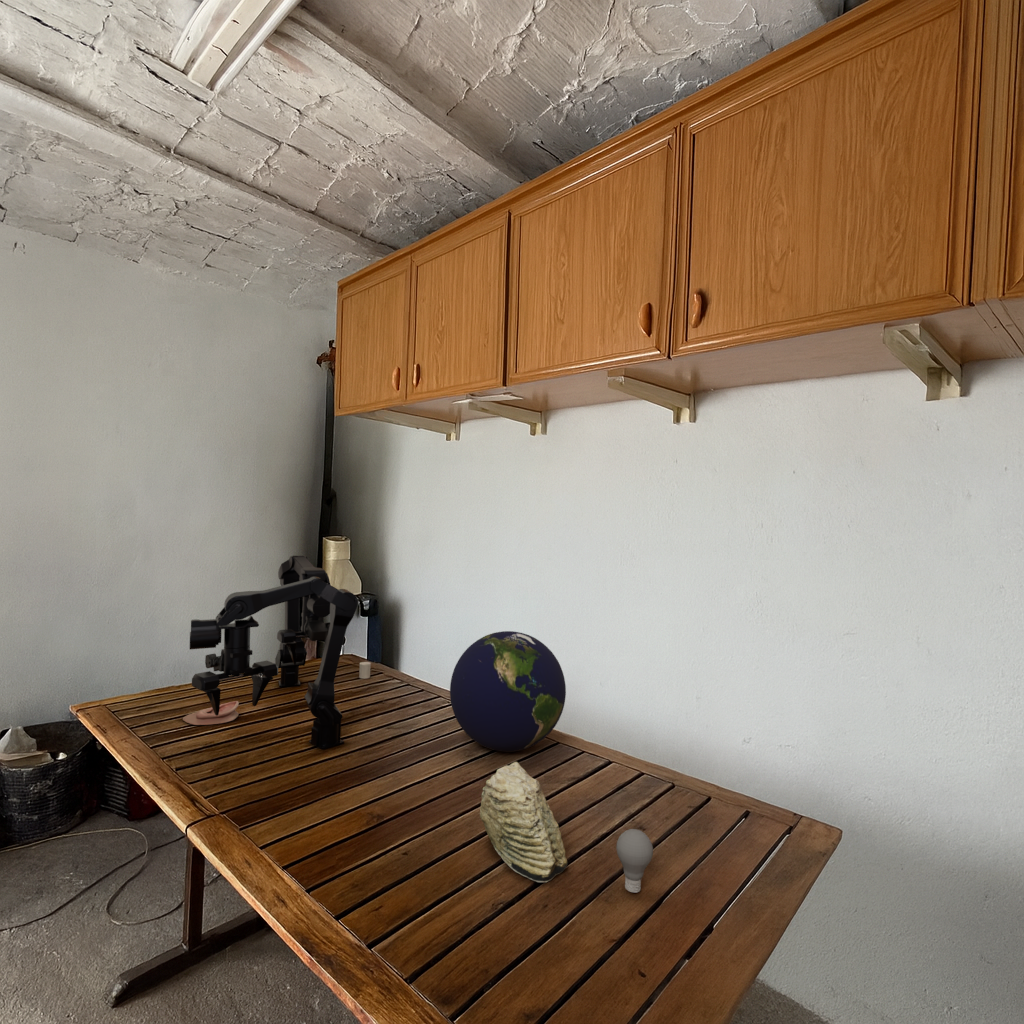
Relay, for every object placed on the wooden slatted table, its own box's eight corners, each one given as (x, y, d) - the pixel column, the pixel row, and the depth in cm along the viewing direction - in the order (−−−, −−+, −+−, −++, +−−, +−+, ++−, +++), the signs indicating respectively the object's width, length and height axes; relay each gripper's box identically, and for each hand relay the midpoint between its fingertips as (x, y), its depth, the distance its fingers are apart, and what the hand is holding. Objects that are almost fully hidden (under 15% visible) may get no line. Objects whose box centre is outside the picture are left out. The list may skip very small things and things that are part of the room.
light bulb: (610, 879, 108) (613, 822, 108) (644, 879, 109) (647, 822, 109) (619, 902, 102) (622, 840, 102) (655, 901, 103) (658, 840, 103)
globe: (494, 719, 185) (499, 617, 185) (584, 745, 168) (589, 633, 167) (423, 749, 161) (428, 631, 160) (519, 784, 143) (525, 652, 143)
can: (359, 678, 220) (359, 664, 220) (359, 675, 224) (359, 661, 224) (370, 678, 221) (370, 664, 221) (369, 675, 225) (370, 661, 225)
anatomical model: (175, 707, 171) (204, 695, 183) (174, 722, 172) (203, 709, 183) (218, 713, 169) (245, 700, 180) (218, 728, 169) (244, 714, 180)
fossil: (501, 827, 124) (504, 751, 124) (575, 868, 111) (578, 784, 111) (467, 843, 118) (470, 763, 118) (541, 889, 105) (545, 799, 105)
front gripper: (257, 634, 164) (256, 694, 165) (182, 646, 150) (181, 711, 150) (279, 642, 157) (278, 704, 157) (202, 654, 143) (201, 723, 143)
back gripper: (287, 618, 178) (285, 673, 179) (351, 614, 189) (349, 665, 190) (277, 611, 188) (275, 663, 188) (339, 607, 198) (337, 656, 199)
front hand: (235, 710), depth 152 cm, fingers open, 9 cm apart
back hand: (310, 662), depth 191 cm, fingers open, 9 cm apart
